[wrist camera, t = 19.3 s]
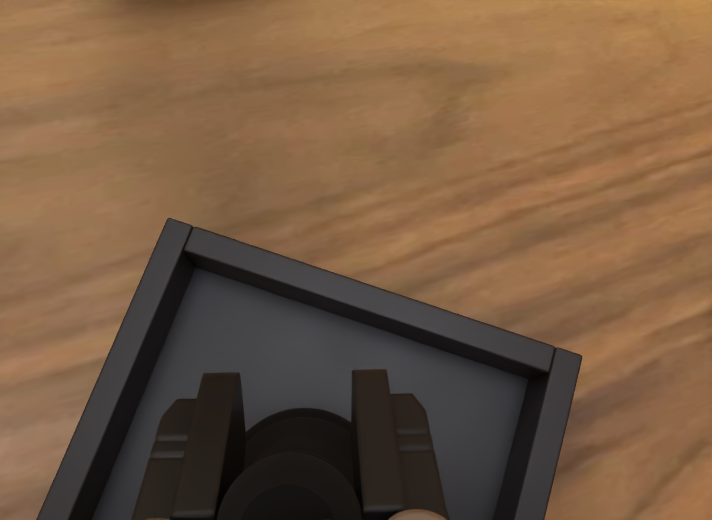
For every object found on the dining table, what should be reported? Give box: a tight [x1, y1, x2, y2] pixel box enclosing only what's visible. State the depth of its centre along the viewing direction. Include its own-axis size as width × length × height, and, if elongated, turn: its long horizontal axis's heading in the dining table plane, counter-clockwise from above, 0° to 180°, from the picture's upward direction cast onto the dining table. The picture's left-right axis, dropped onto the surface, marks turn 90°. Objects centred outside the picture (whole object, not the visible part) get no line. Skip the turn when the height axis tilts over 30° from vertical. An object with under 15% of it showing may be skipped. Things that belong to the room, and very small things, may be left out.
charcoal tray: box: [36, 218, 582, 520], centre depth 19 cm, size 13×12×3 cm
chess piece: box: [217, 408, 363, 520], centre depth 13 cm, size 4×4×10 cm
